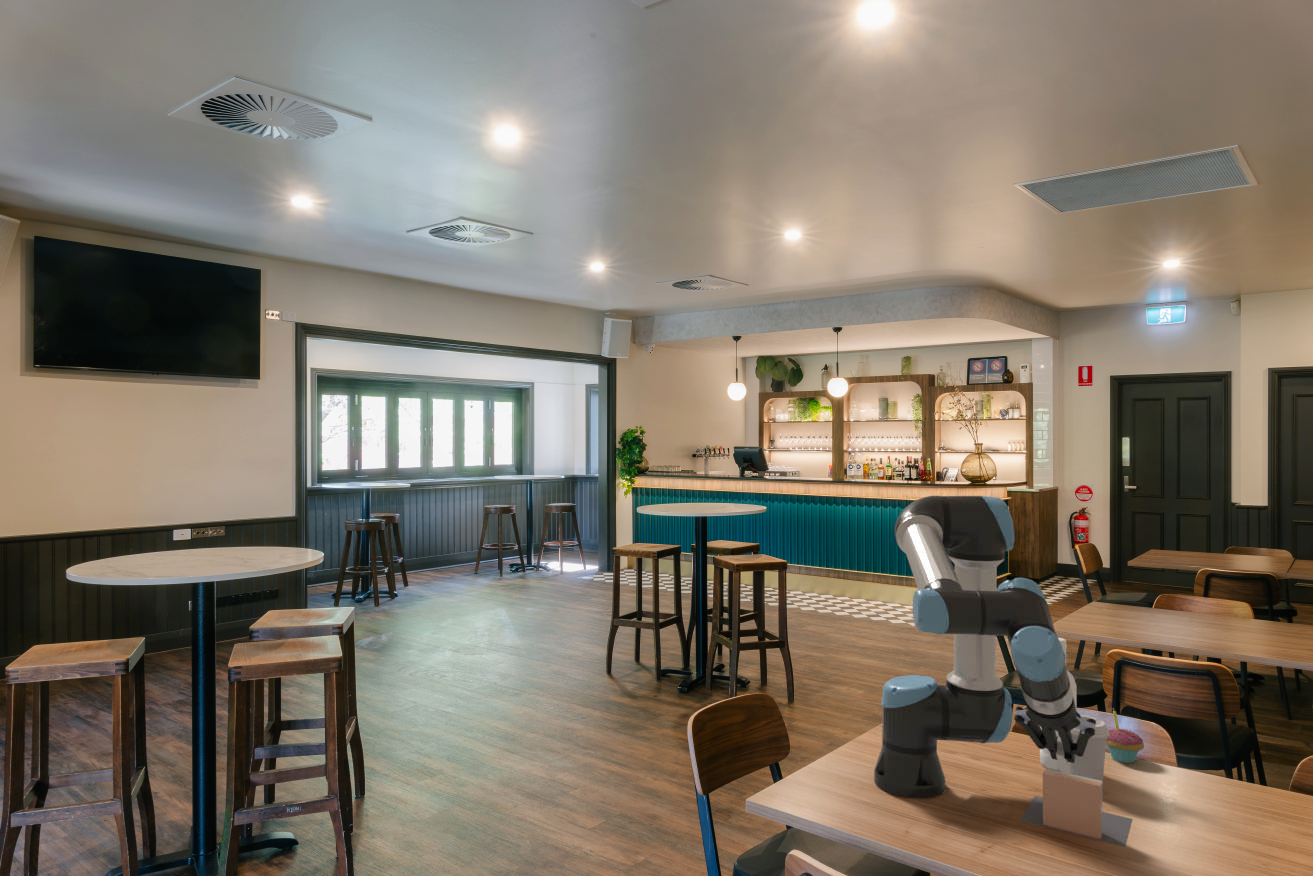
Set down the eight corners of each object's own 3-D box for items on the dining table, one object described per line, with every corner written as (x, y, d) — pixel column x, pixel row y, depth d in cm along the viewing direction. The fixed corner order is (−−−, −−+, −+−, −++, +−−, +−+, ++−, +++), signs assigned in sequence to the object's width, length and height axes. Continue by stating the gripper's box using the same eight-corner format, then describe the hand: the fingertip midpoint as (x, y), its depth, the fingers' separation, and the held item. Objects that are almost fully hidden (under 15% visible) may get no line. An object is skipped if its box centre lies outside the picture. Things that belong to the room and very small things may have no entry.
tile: (1043, 824, 155) (1042, 773, 155) (1045, 818, 158) (1045, 768, 158) (1100, 839, 149) (1100, 786, 150) (1102, 833, 152) (1102, 781, 152)
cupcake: (1101, 760, 190) (1100, 710, 190) (1104, 750, 197) (1104, 702, 197) (1143, 769, 185) (1142, 717, 185) (1145, 757, 192) (1144, 708, 192)
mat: (1020, 822, 157) (1020, 819, 157) (1034, 798, 168) (1034, 795, 168) (1124, 849, 147) (1124, 846, 147) (1132, 821, 158) (1132, 818, 158)
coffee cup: (1116, 800, 168) (1116, 729, 168) (1068, 796, 170) (1067, 726, 170) (1100, 782, 177) (1100, 715, 178) (1055, 778, 179) (1054, 712, 179)
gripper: (1003, 709, 134) (1025, 777, 147) (1089, 724, 127) (1104, 794, 140) (1010, 671, 139) (1030, 740, 152) (1094, 684, 131) (1107, 755, 144)
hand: (1065, 766), depth 146 cm, fingers closed
